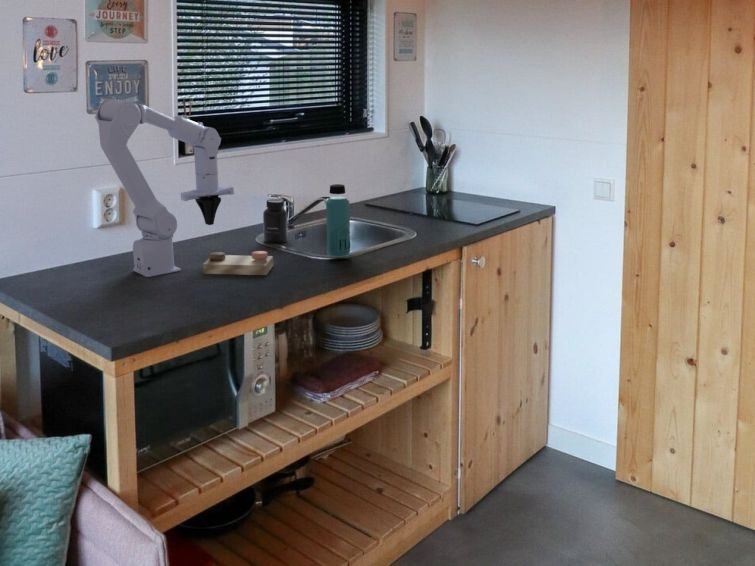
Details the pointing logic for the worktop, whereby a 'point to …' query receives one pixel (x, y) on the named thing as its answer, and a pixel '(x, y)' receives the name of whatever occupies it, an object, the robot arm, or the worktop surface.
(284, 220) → the supplement bottle
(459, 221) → the worktop surface
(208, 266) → the board
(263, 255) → the terracotta plunger
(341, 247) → the beverage bottle
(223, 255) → the walnut plunger
